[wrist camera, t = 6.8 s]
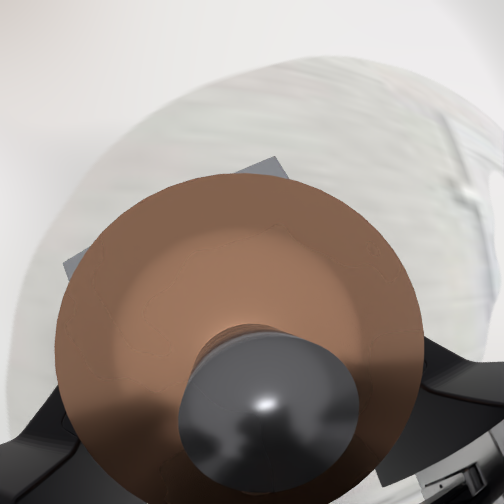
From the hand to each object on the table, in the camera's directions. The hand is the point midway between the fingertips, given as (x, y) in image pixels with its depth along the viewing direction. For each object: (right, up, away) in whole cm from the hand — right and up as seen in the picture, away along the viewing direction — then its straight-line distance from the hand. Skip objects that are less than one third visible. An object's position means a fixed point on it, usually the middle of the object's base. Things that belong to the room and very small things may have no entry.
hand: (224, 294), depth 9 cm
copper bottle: (-1, -2, +6) cm, 7 cm away
